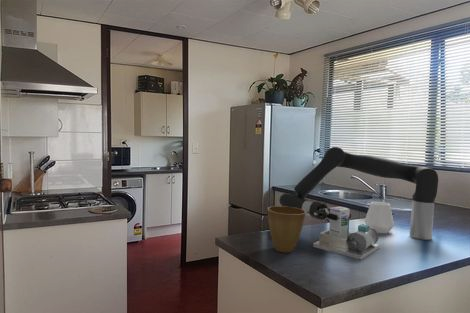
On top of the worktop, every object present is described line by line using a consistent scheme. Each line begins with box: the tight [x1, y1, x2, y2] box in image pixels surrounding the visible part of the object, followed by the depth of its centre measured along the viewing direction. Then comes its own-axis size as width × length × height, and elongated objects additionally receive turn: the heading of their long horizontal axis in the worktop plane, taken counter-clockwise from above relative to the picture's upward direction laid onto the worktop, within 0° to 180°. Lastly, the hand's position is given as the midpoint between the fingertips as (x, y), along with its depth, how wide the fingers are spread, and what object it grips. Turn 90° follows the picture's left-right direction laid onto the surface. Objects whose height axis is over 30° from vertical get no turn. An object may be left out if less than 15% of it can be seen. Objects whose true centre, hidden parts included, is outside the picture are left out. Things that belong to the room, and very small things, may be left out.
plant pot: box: [267, 205, 306, 254], centre depth 137 cm, size 15×15×16 cm
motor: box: [312, 223, 381, 260], centre depth 143 cm, size 20×20×10 cm
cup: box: [364, 201, 395, 234], centre depth 172 cm, size 13×13×14 cm
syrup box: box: [328, 206, 351, 239], centre depth 145 cm, size 6×6×14 cm
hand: (343, 217), depth 143 cm, fingers open, 8 cm apart
